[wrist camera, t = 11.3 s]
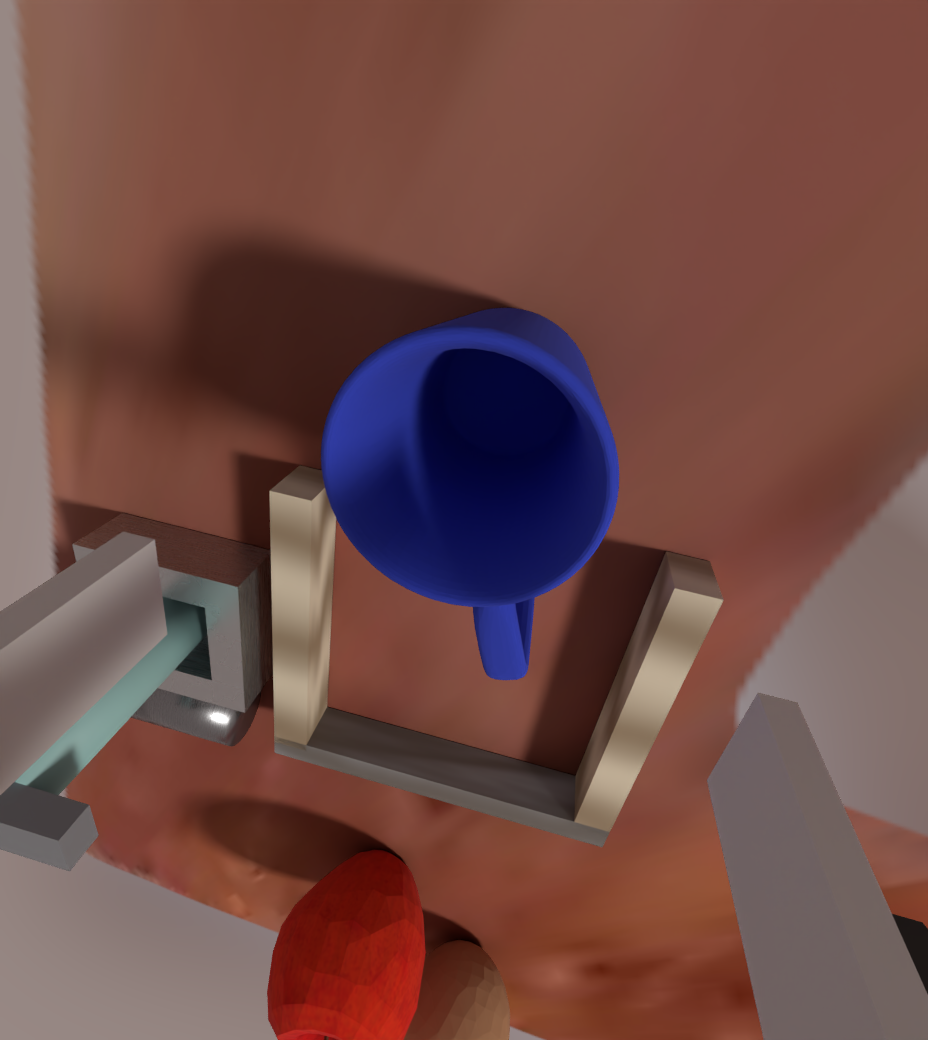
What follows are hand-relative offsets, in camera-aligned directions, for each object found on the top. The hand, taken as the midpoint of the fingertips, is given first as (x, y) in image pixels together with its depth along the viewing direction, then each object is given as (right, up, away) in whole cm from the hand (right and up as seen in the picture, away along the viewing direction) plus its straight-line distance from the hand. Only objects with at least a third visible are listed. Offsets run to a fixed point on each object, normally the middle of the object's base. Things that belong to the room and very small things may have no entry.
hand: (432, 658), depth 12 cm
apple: (-6, -23, +31) cm, 39 cm away
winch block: (-15, -3, +22) cm, 27 cm away
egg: (+1, -32, +34) cm, 46 cm away
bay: (+1, -4, +18) cm, 19 cm away
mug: (+3, +7, +13) cm, 15 cm away
